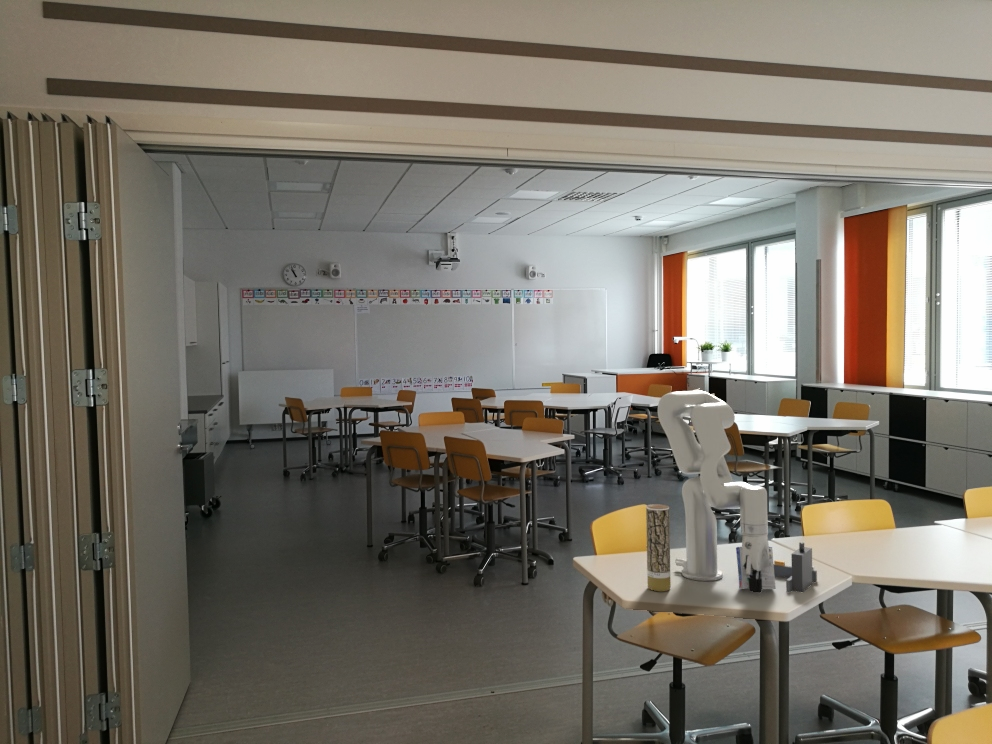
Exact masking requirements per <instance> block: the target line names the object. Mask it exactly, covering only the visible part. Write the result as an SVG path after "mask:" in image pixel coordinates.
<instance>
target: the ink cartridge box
mask: <svg viewBox="0 0 992 744" xmlns="http://www.w3.org/2000/svg"><path fill="white" fill-rule="evenodd" d="M735 551H736V552H735V553H736V563H737V574H738V588H739V589H741V590H749V578H748V575H746V569H744V568H743V567H742V546H737V547H736V548H735ZM769 557H770V563H769V565H768V566H767V567H765V568H764V569H762V590H776V589H777V588H776V578H775V577H776V576H775V575H774V554H773V546H769Z"/></svg>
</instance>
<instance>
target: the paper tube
mask: <svg viewBox="0 0 992 744" xmlns="http://www.w3.org/2000/svg"><path fill="white" fill-rule="evenodd" d="M645 510H646V511H645V512H646V513H645V514H646V515H645V516H646V519H645V520H646V521H645V522H646V563H647V564H646V566H647V567H646V569H647V572H646V573H647V574H646V575H647V588H648V589H649V590H650V589H651V591H653V590H654V591H653V592H667V591H669V590H670V589H671V538H670V536H671V535H670V534H671V533H670V531H671V529H670V527H671V526H670V506H669V505H667V504H661V503H654V504H653V503H651V504H647V505H646V507H645Z"/></svg>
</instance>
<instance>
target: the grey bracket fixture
mask: <svg viewBox="0 0 992 744" xmlns="http://www.w3.org/2000/svg"><path fill="white" fill-rule="evenodd" d="M798 546H799V547H798V549H796V550H795V551H793V552H792V553H791V566H789V565H786V561H783V560H782V561H781V560H773V564H774V575H775V577H779V576H780V578H785V577H786V578H787V579H786V580H785V581H786V583H785V584H786V585H785V588H786V593H792V592H796V591H797V592H796V593H801V592H803V593H804V592H805V591H806V590H807V589H809V588H810V587H811V586H812V585H813V583H814V582H816V583H817V582H818V571H817V570H815V566H814V565H813V548H812V547H807V546H805V542H801V541H800V542H798ZM810 585H811V586H810ZM809 586H810V587H809ZM808 587H809V588H808Z"/></svg>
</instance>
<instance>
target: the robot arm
mask: <svg viewBox="0 0 992 744" xmlns="http://www.w3.org/2000/svg"><path fill="white" fill-rule="evenodd" d="M657 417H658V421H659V423H660V425H661V427H662V429H663V431H664V433H665V435H666V437H667V439H668V443H669V445H670V448H671V450H672V455H673V458H674V459H675V463H676V465H677V468H678V469H679V471H680V472H681V473H682V474H684V475H697V474H698V475H699V474H700V475H699V476H693V477H691V478H688V479H686V481H685V482H684V483H683V484H682V488H681V496H682V501H683V506H684V511H685V512H684V514H685V515H684V516H685V545H686V546H685V551H686V552H685V553H686V555H685V556H686V557H685V559H684V558H680V557H679V558H678V557H676V558H675V566H677V567H682V569H681V575H682V576H683V577H684V578H686V579H689V580H694V581H703V582H711V581H717V580H720V579H722V578H723V574H724V573H723V571H721V570H720V569H718V530H717V529H718V528H717V527H718V524H717V518H716V517H717V516H716V515H715V513H714V511H713V510H712V508H714V509H717V510H726V509H733V508H734V509H735V508H739V513H740V514H739V515H740V517H739V518H740V519H739V523H740V534H741V535H742V539H741V541H742V542H741V547H742V567H743V568H744V569H746V575H748V578H749V589H748V590H749V592H750V593H755V594H760V593H762V592H763V589H762V569H764V568H765V567H767V566H768V565H769V563H770V557H769V547H770V545H769V537H768V535H769V526H768V525H769V520H768V491H767V488H765V487H763V486H761V485H752V484H750V483H747V482H745V481H734V480H733V477H732V475H731V472H730V469H729V466H728V464H727V462H726V461H727V460H726V458H725V455H727V454H728V453H729V452H730V451H731V449H732V446H731V443H730V441H729V439H728V437H727V434H726V433H727V432H726V431H725V429H729V428H731V427H732V426H733V424H735V413H734V410H733V409H732V407H731V406H730V405H729V404H728V403H727V402H725V401H724V400H722V399H721V398H718V397H717V396H715V395H713V394H710V393H709V392H707V391H703V390H682V391H679V390H678V391H677V390H676V391H672V392H668V393H666V394H664V395H662V396H661V398H660V399H659V401H658V405H657ZM686 417H687V418H688V417H690V422H691V424H692V426H693V427H691V426H690V425H689V423H687V422H686V421H685V420H684V419H683V418H686ZM692 428H693V429H694V431H693V429H692ZM695 435H696V436H695ZM696 437H697V438H696Z"/></svg>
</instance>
